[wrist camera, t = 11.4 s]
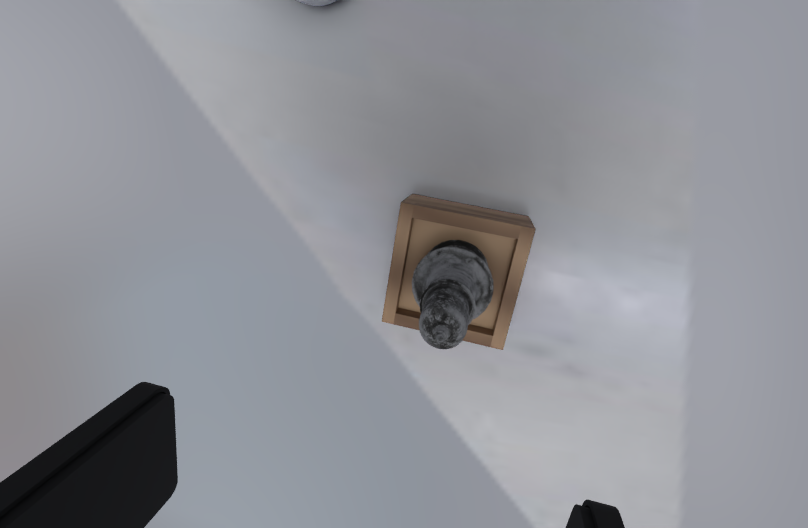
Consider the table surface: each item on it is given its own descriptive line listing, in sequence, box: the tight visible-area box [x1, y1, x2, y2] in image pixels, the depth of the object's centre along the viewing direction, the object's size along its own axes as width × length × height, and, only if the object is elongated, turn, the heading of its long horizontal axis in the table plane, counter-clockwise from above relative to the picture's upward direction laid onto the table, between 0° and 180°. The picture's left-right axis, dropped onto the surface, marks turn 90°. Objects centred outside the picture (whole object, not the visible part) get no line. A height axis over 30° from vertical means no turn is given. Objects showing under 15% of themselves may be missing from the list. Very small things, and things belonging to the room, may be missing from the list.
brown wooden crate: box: [382, 194, 535, 350], centre depth 35 cm, size 10×10×5 cm
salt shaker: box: [412, 240, 493, 349], centre depth 28 cm, size 6×6×12 cm
